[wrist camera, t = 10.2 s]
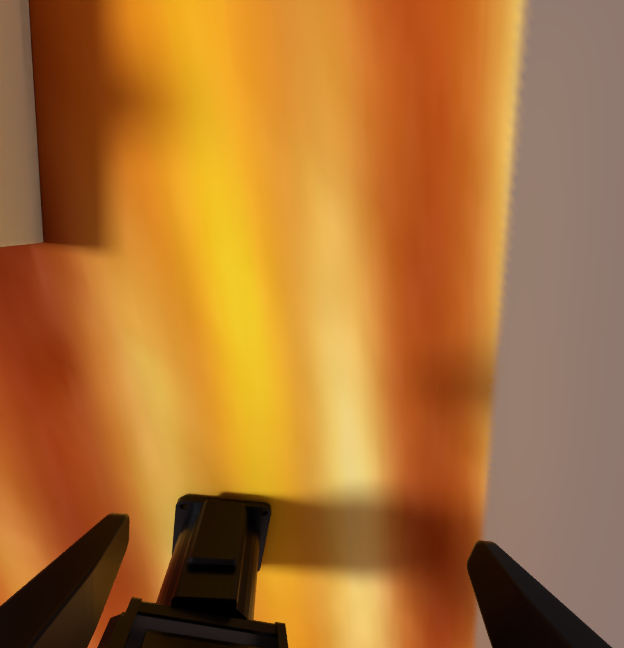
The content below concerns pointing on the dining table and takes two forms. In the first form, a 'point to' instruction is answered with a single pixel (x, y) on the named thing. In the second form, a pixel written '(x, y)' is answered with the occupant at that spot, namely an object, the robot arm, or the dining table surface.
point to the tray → (18, 130)
